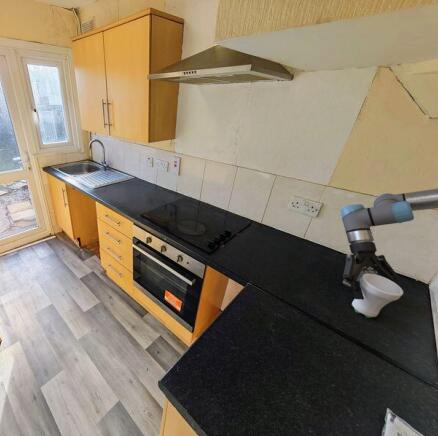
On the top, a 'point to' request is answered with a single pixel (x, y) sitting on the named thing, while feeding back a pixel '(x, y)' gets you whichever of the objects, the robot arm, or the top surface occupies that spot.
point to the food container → (364, 271)
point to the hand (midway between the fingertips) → (377, 299)
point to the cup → (375, 294)
